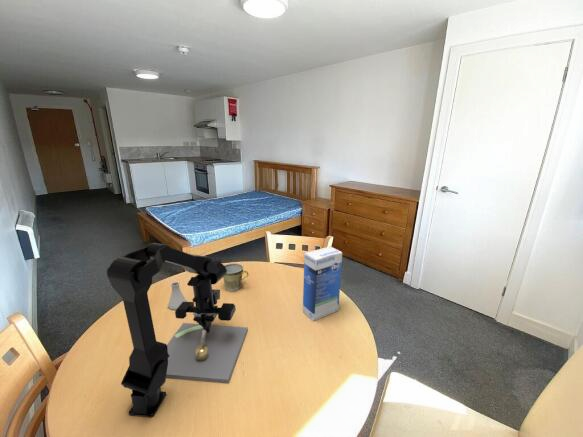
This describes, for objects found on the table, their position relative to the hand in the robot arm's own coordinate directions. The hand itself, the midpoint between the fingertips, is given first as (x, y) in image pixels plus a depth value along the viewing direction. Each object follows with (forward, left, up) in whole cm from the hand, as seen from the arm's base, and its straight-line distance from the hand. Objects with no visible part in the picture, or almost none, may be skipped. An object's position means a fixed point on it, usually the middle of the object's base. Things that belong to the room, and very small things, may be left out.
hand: (208, 331), depth 90 cm
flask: (+17, +20, -3) cm, 27 cm away
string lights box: (+19, -39, -3) cm, 43 cm away
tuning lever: (-4, 0, -1) cm, 4 cm away
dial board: (-6, 0, -3) cm, 6 cm away
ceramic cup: (+33, 0, -3) cm, 34 cm away
